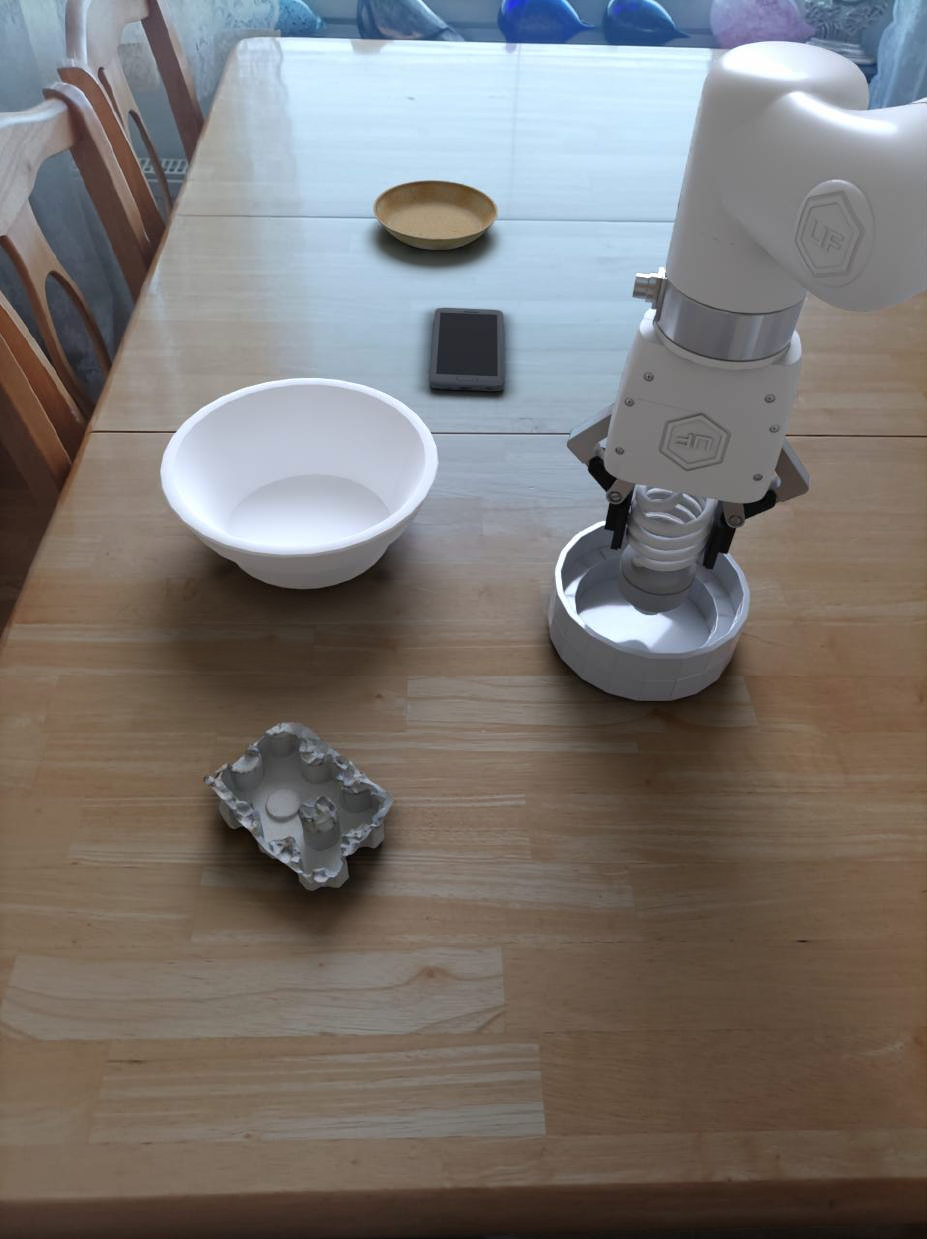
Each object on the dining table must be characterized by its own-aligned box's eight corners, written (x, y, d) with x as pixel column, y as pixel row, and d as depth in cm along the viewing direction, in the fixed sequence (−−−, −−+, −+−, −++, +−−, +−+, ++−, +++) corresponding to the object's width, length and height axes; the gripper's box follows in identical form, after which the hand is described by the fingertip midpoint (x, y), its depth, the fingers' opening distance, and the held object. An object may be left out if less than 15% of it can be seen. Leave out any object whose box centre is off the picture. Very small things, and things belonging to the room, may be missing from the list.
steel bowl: (759, 617, 73) (780, 568, 69) (680, 738, 65) (697, 691, 61) (603, 542, 78) (614, 492, 74) (512, 646, 70) (518, 597, 66)
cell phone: (429, 389, 91) (429, 382, 91) (434, 312, 100) (434, 306, 100) (504, 392, 91) (504, 385, 91) (503, 315, 100) (503, 308, 100)
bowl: (159, 484, 81) (137, 405, 75) (389, 433, 87) (387, 357, 80) (210, 663, 68) (189, 586, 62) (476, 590, 74) (481, 513, 68)
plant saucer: (504, 208, 117) (506, 187, 115) (486, 266, 107) (487, 244, 105) (389, 194, 118) (389, 173, 116) (360, 251, 109) (359, 229, 107)
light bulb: (633, 648, 67) (665, 526, 58) (594, 595, 71) (619, 472, 62) (699, 625, 69) (740, 503, 60) (658, 575, 72) (691, 451, 63)
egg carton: (204, 809, 61) (192, 775, 58) (291, 736, 64) (284, 701, 61) (319, 913, 56) (312, 882, 53) (404, 828, 60) (402, 795, 57)
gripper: (559, 317, 50) (530, 557, 64) (892, 374, 47) (787, 611, 61) (584, 251, 55) (552, 487, 68) (887, 300, 52) (791, 535, 66)
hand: (663, 543), depth 64 cm, fingers closed on light bulb, 5 cm apart
